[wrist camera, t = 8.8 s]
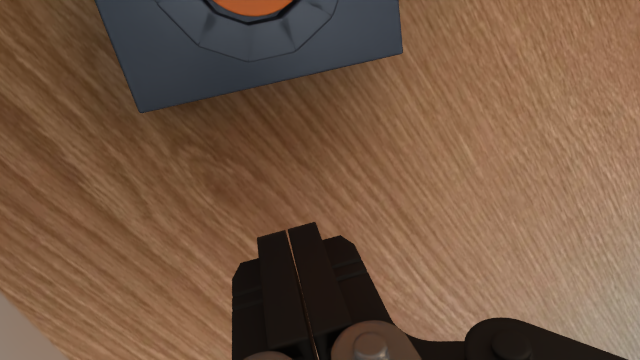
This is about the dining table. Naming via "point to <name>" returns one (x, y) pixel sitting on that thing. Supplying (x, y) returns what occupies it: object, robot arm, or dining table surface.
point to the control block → (240, 44)
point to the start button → (253, 6)
